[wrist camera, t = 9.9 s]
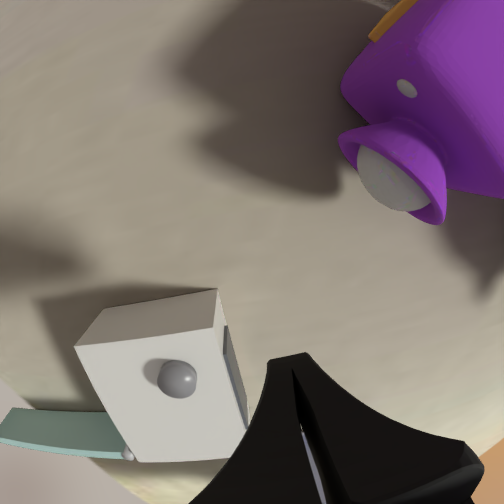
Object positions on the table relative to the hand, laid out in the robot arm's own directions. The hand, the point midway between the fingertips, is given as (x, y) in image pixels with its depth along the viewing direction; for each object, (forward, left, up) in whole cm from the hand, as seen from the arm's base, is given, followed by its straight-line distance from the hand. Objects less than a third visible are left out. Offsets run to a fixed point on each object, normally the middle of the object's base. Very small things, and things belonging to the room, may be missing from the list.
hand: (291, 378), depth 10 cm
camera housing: (-5, +7, -10) cm, 13 cm away
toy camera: (+9, -11, -10) cm, 17 cm away
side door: (-10, +19, -10) cm, 23 cm away
